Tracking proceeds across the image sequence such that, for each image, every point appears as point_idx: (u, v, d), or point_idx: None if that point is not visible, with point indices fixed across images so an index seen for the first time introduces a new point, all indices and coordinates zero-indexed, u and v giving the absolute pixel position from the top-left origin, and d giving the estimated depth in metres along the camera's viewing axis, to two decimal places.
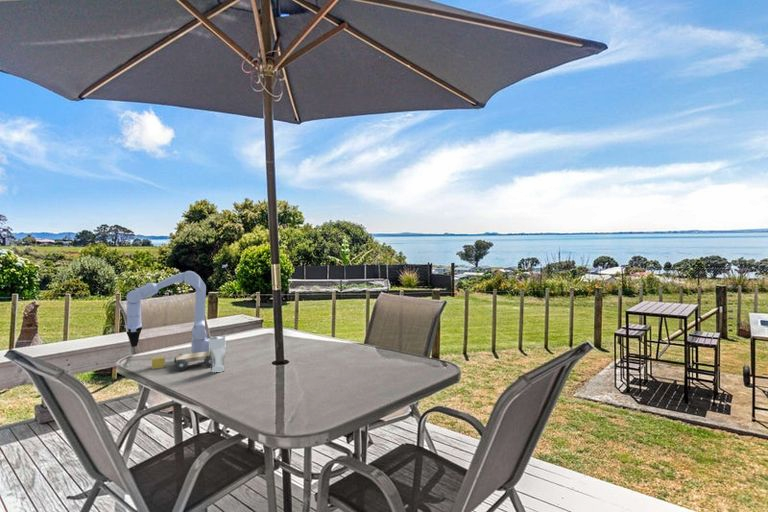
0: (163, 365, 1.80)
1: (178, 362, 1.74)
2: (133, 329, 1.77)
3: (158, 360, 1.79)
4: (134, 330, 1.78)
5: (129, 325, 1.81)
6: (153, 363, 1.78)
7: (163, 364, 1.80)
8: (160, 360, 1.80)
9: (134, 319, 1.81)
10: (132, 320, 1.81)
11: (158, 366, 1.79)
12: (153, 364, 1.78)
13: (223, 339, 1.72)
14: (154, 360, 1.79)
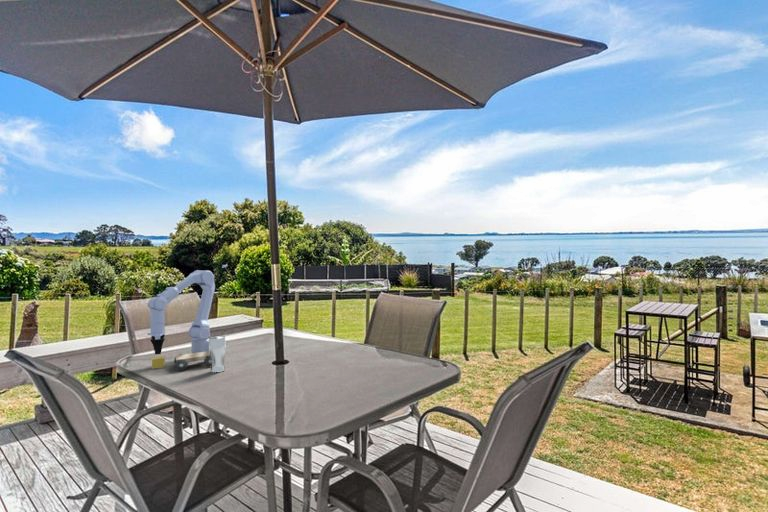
0: (163, 365, 1.80)
1: (178, 362, 1.74)
2: (157, 336, 1.75)
3: (158, 360, 1.79)
4: (158, 337, 1.75)
5: (153, 332, 1.78)
6: (153, 363, 1.78)
7: (163, 364, 1.80)
8: (160, 360, 1.80)
9: (157, 326, 1.79)
10: (156, 327, 1.78)
11: (158, 366, 1.79)
12: (153, 364, 1.78)
13: (223, 339, 1.72)
14: (154, 360, 1.79)
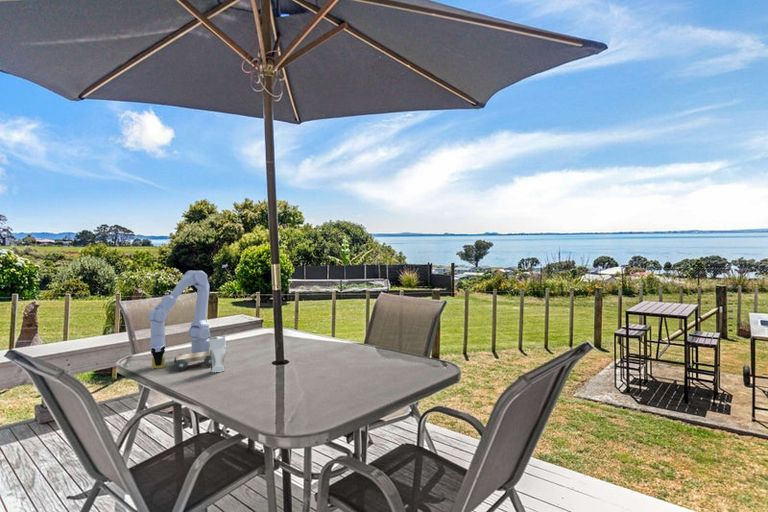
0: (163, 365, 1.80)
1: (178, 362, 1.74)
2: (157, 349, 1.75)
3: None
4: (158, 350, 1.75)
5: (153, 344, 1.78)
6: (153, 363, 1.78)
7: (163, 364, 1.80)
8: None
9: (158, 338, 1.79)
10: (156, 339, 1.78)
11: (158, 366, 1.79)
12: (153, 364, 1.78)
13: (223, 339, 1.72)
14: None
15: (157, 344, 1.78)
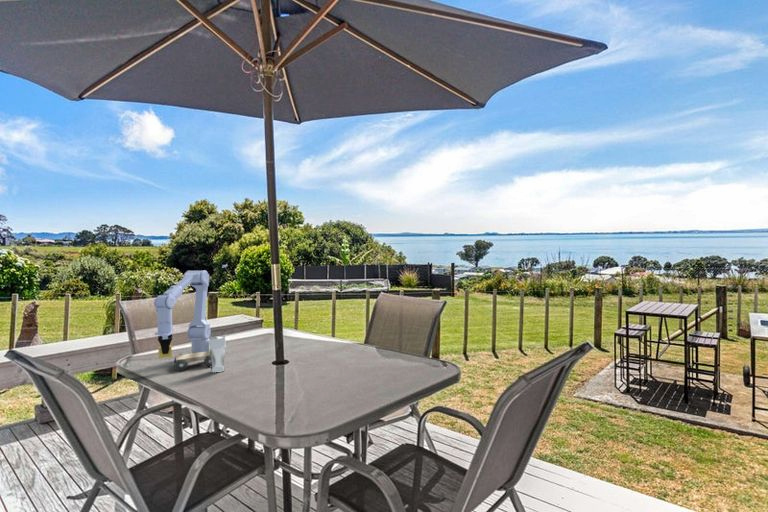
0: (170, 354, 1.73)
1: (178, 362, 1.74)
2: (165, 336, 1.67)
3: None
4: (166, 337, 1.68)
5: (160, 332, 1.71)
6: (160, 352, 1.71)
7: (170, 353, 1.73)
8: None
9: (165, 326, 1.71)
10: (163, 326, 1.71)
11: (165, 355, 1.72)
12: (160, 353, 1.71)
13: (223, 339, 1.72)
14: None
15: (164, 331, 1.71)
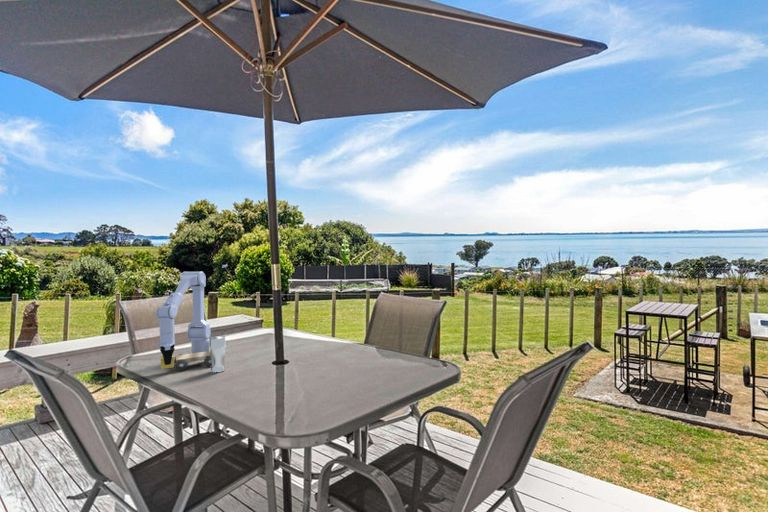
0: (172, 364, 1.71)
1: (178, 362, 1.74)
2: (167, 347, 1.66)
3: None
4: (168, 348, 1.66)
5: (162, 342, 1.69)
6: (162, 362, 1.69)
7: (172, 363, 1.71)
8: None
9: (167, 336, 1.70)
10: (165, 337, 1.69)
11: (167, 365, 1.70)
12: (162, 363, 1.69)
13: (223, 339, 1.72)
14: (163, 359, 1.70)
15: (166, 342, 1.70)
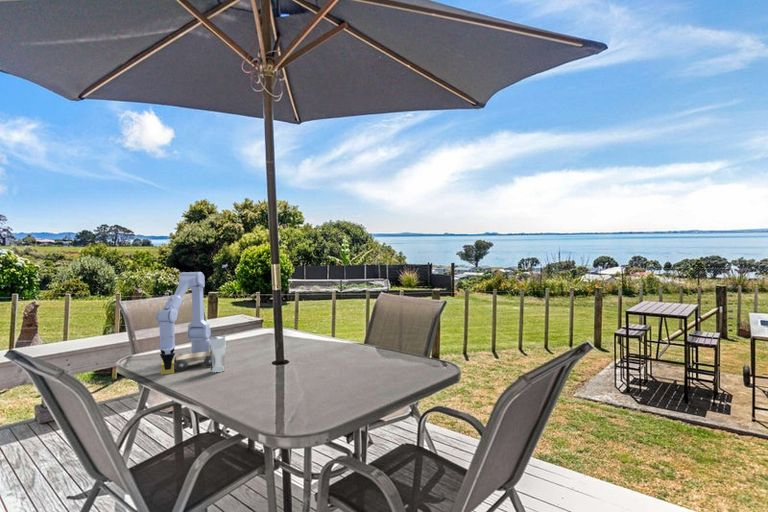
0: (172, 370, 1.72)
1: (178, 362, 1.74)
2: (167, 351, 1.66)
3: None
4: (168, 352, 1.66)
5: (162, 346, 1.69)
6: (162, 368, 1.70)
7: (172, 369, 1.72)
8: None
9: (167, 340, 1.70)
10: (165, 341, 1.69)
11: (167, 372, 1.71)
12: (162, 369, 1.70)
13: (223, 339, 1.72)
14: (163, 365, 1.70)
15: (167, 346, 1.70)
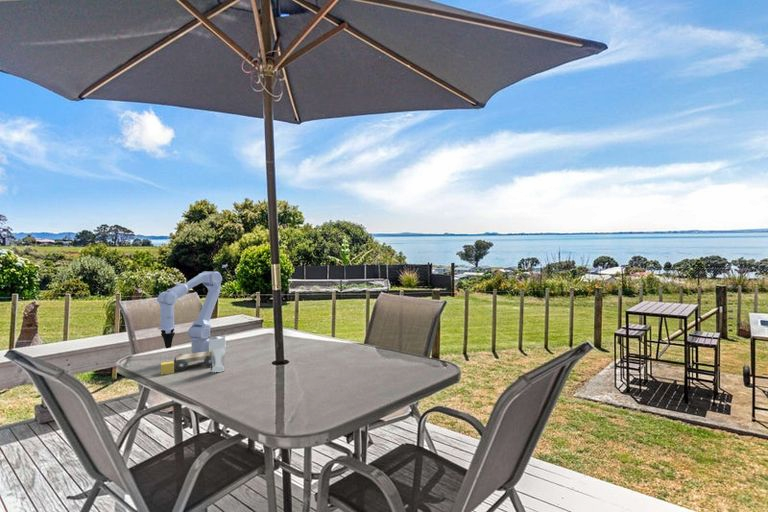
0: (172, 370, 1.72)
1: (178, 362, 1.74)
2: (168, 330, 1.77)
3: (167, 365, 1.71)
4: (169, 331, 1.77)
5: (163, 326, 1.81)
6: (162, 368, 1.70)
7: (172, 369, 1.72)
8: (169, 365, 1.71)
9: (168, 321, 1.81)
10: (166, 321, 1.81)
11: (167, 372, 1.71)
12: (162, 369, 1.70)
13: (223, 339, 1.72)
14: (163, 365, 1.70)
15: (167, 326, 1.81)
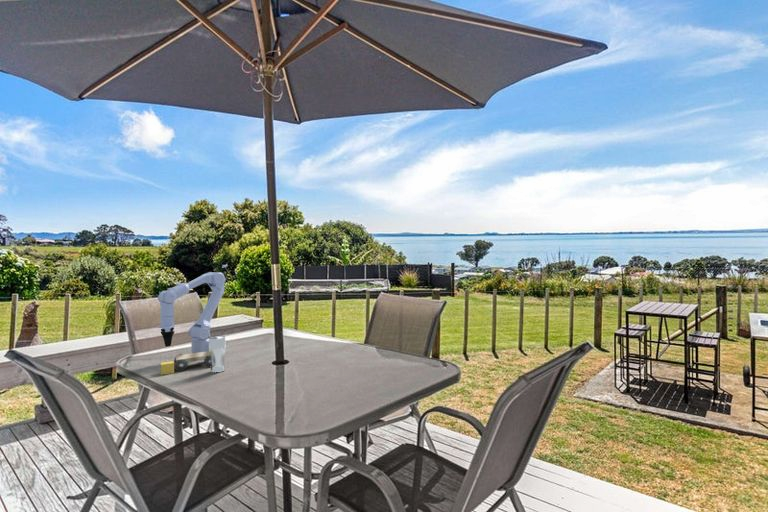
0: (172, 370, 1.72)
1: (178, 362, 1.74)
2: (167, 329, 1.79)
3: (167, 365, 1.71)
4: (168, 330, 1.79)
5: (163, 325, 1.83)
6: (162, 368, 1.70)
7: (172, 369, 1.72)
8: (169, 365, 1.71)
9: (167, 319, 1.83)
10: (165, 320, 1.83)
11: (167, 372, 1.71)
12: (162, 369, 1.70)
13: (223, 339, 1.72)
14: (163, 365, 1.70)
15: (167, 325, 1.83)
